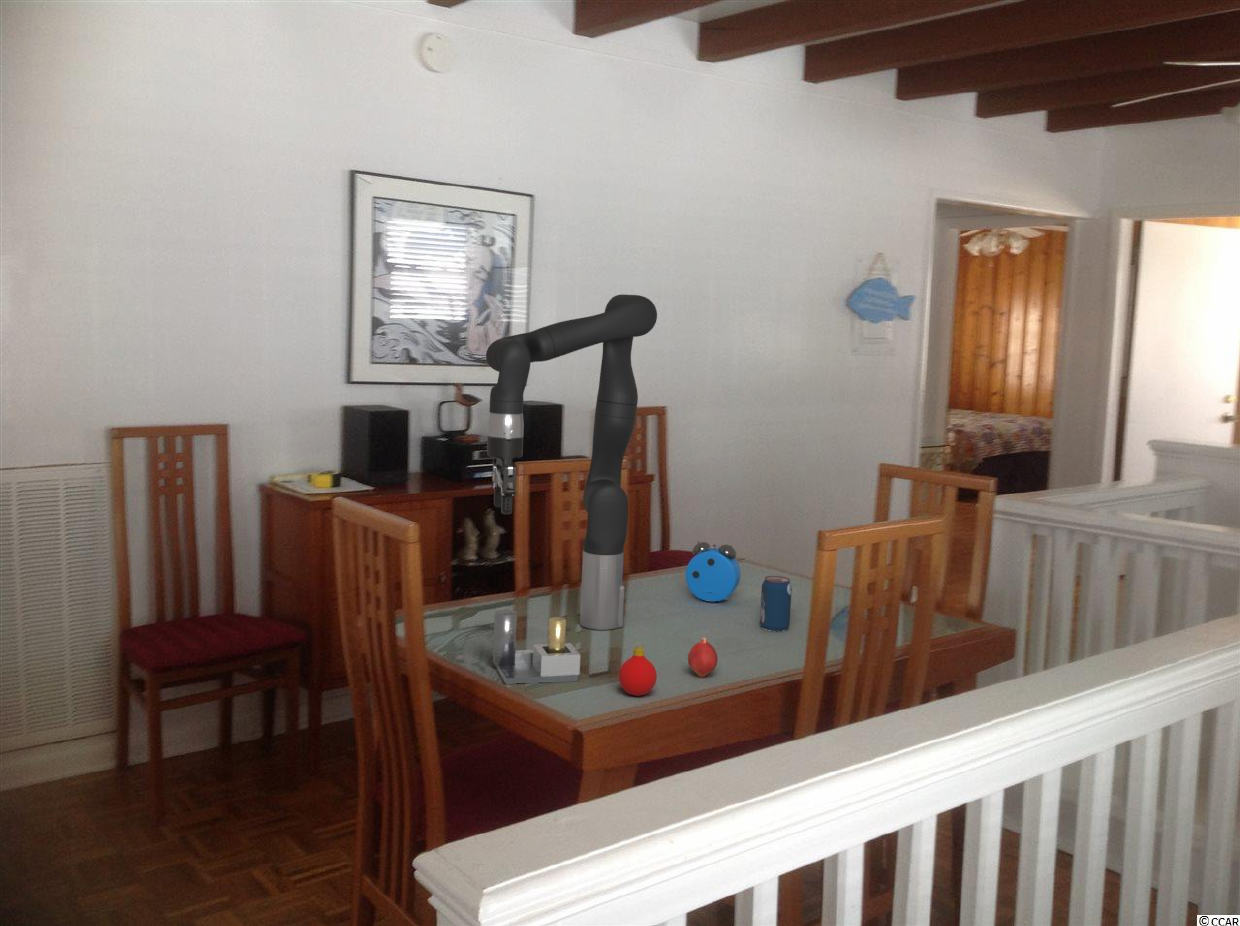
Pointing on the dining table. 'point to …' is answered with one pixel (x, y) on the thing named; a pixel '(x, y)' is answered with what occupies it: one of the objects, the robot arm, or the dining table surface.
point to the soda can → (775, 603)
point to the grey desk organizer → (530, 656)
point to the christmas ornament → (637, 674)
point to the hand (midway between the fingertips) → (502, 510)
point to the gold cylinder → (556, 635)
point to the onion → (702, 658)
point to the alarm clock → (713, 572)
